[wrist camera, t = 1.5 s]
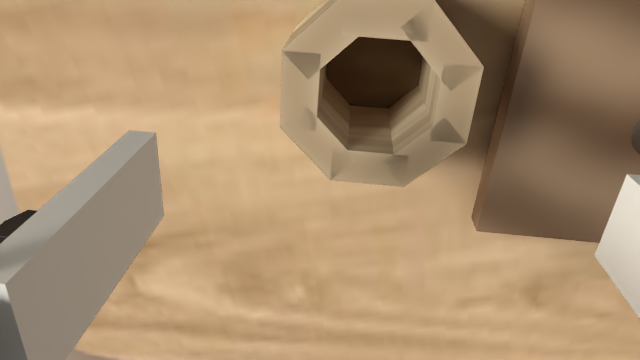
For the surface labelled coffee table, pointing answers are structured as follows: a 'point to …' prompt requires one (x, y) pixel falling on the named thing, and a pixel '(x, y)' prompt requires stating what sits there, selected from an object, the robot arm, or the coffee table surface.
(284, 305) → the coffee table surface
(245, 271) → the coffee table surface
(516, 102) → the post base
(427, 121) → the collar
